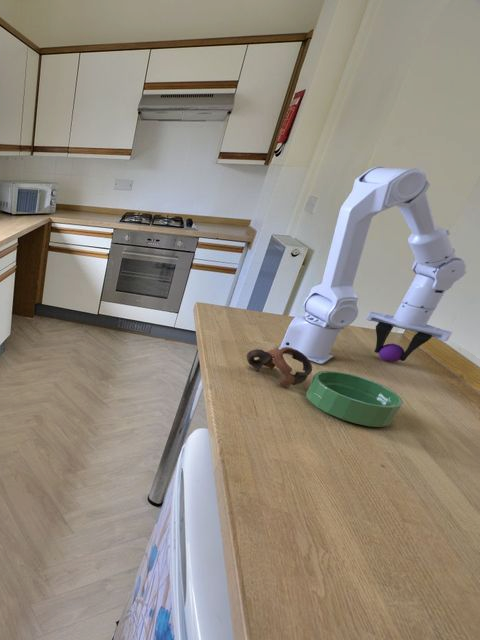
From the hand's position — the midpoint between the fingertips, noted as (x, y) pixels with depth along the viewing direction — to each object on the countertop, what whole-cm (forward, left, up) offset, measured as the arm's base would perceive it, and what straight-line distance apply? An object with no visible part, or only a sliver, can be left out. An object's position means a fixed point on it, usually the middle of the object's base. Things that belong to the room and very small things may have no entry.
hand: (389, 355), depth 103 cm
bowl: (+2, -38, -2) cm, 38 cm away
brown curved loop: (-12, -37, -2) cm, 39 cm away
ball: (0, 0, +1) cm, 1 cm away
